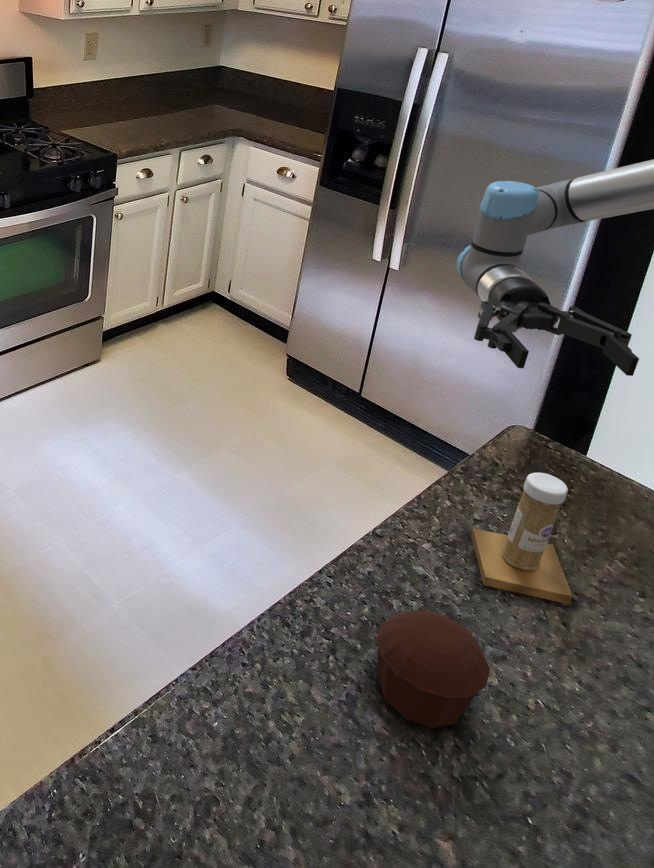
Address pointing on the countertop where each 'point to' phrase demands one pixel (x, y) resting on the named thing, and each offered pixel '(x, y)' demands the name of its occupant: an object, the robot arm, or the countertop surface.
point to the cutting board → (519, 570)
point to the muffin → (429, 667)
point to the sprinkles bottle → (534, 520)
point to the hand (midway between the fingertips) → (577, 363)
